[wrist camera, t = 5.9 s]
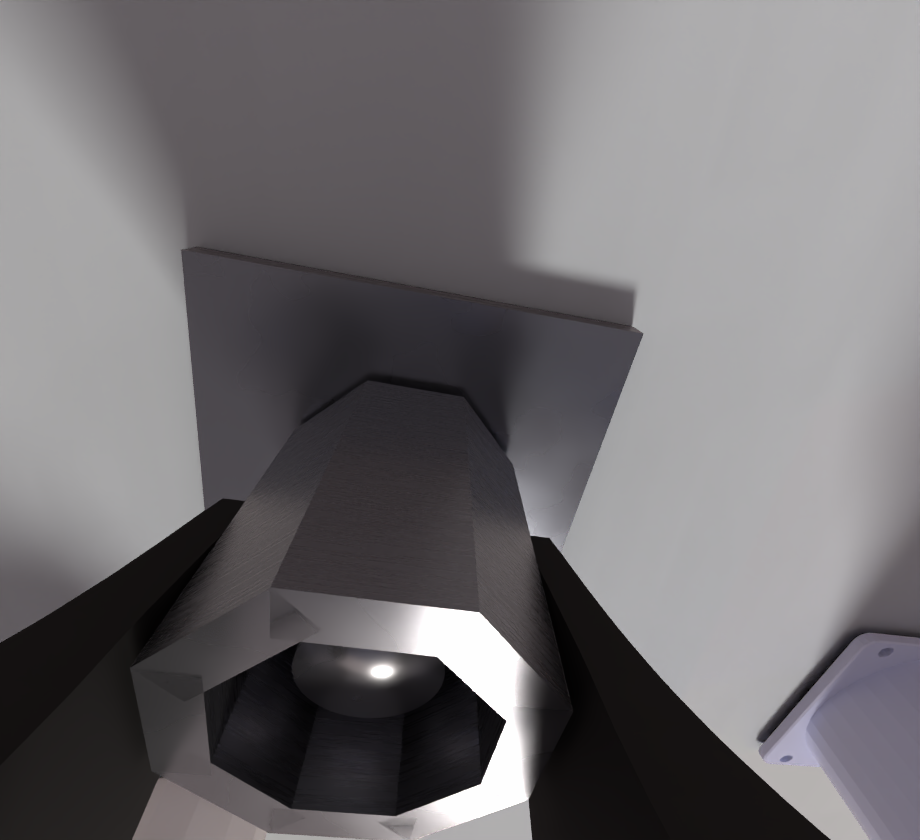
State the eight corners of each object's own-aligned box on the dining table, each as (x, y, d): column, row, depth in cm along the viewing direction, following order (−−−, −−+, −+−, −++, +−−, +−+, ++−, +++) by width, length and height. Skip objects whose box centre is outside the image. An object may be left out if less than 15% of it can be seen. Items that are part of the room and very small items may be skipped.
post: (633, 326, 11) (819, 449, 5) (528, 612, 15) (575, 833, 10) (196, 246, 9) (-109, 305, 4) (221, 582, 14) (88, 814, 9)
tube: (529, 408, 10) (615, 629, 5) (480, 574, 13) (503, 847, 7) (296, 367, 10) (109, 567, 4) (290, 549, 12) (163, 825, 7)
